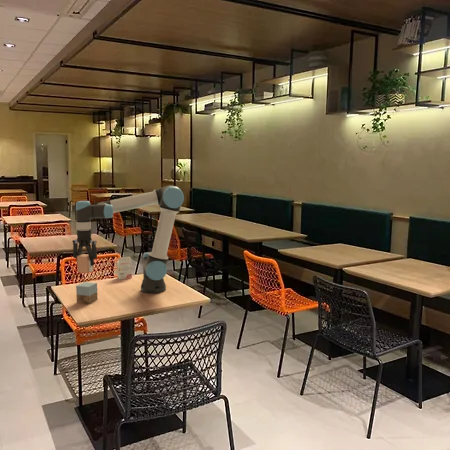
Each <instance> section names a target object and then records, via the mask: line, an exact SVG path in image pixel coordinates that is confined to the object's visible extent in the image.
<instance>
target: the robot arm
mask: <svg viewBox="0 0 450 450" xmlns="http://www.w3.org/2000/svg"><path fill="white" fill-rule="evenodd" d="M184 200H185V195H184V193H183V191H182V190H181V188H180V187H178V186H175V185H172V184H171V185H166V186H163V187H160V188H155V189H153V191H150V192H149V191H148V192H144V193H140V194H139V193H138V194H136V195H130V196H125V197H121V198H115V199H110V200H105V201H100V202H97V203H96V204H91V202H90V201H89V200H79V201H76V202H75V219H76V222H75V223H76V237H77V238H76V239H73V240H72V241H71V242H72V245H73V246H72V258H73V259H76V260H77V256H79V255H82V254H83V248H85V249H86V251H87V252H86V253H87V254H88V255H89V258H90V260H89V273H91V272H94V264H95V259H98V253H97V252H98V251H97V240H93V238H92V229H91V228H92V219H112V218H113V217H114V214H115V213H120V212H125V211H130V210H135V209H139V208H144V207H148V206H152V205H154V206H155V205H156V206H158V208H159V210H160V214H159V220H158V223H157V229H156V232H155V235H154V241H153V244H152V250H151V251H150V252H144V253H143V254H142V264H143V267H142V268H143V271H142V272H143V277H142V280H141V281H142V282H141V285H140V292H142V293H146V294H159V293H163V292H165V291H166V290H167V285H166V282H165V279H164V278H165V277H166V275H167V272H168V267H167V265H168V262H169V256H168V249H169V246H170V242H171V239H172V238H171V237H172V234H173V230H174V229H173V228H174V224H175V221H176V215H177V214H178V213H180V211H181V207H182V205H183V203H184Z"/></svg>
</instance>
